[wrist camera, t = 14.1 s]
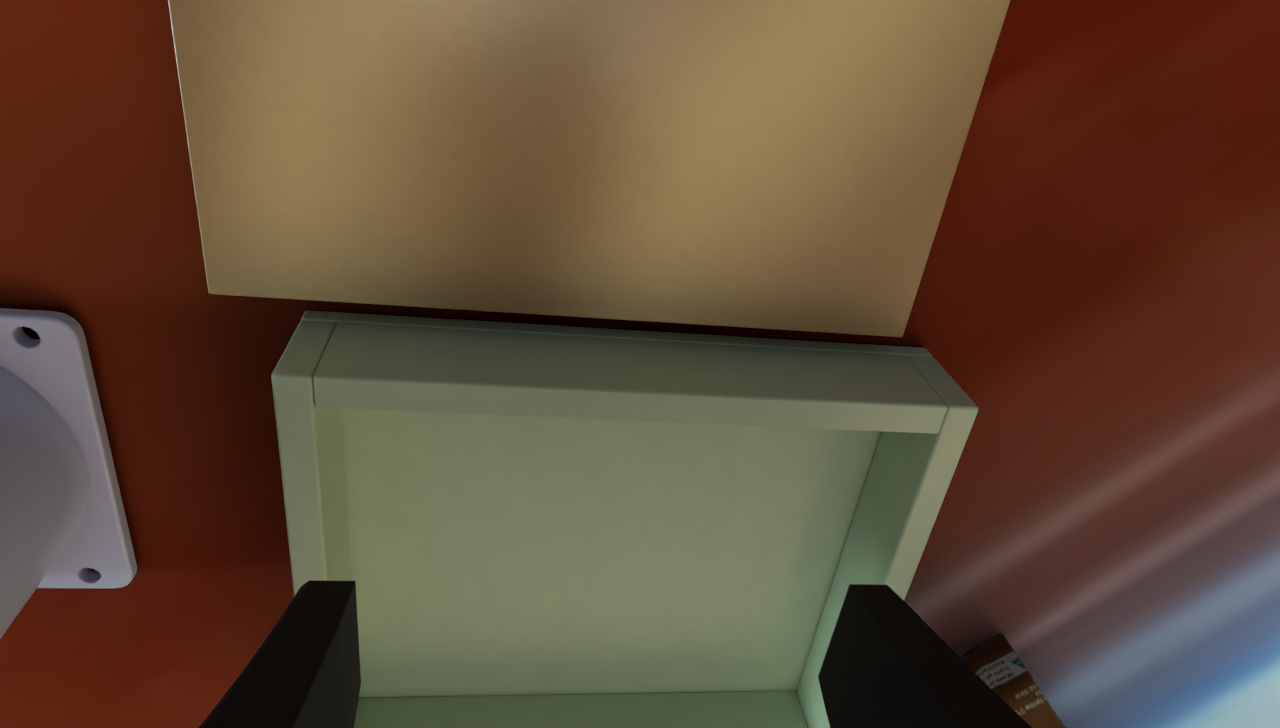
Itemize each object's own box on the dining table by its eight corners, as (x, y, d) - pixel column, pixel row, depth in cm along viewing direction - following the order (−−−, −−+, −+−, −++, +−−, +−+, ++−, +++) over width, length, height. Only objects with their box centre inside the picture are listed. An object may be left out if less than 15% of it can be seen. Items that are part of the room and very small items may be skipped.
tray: (335, 701, 25) (313, 792, 23) (304, 309, 19) (269, 373, 16) (808, 692, 28) (837, 773, 25) (926, 347, 21) (981, 407, 19)
